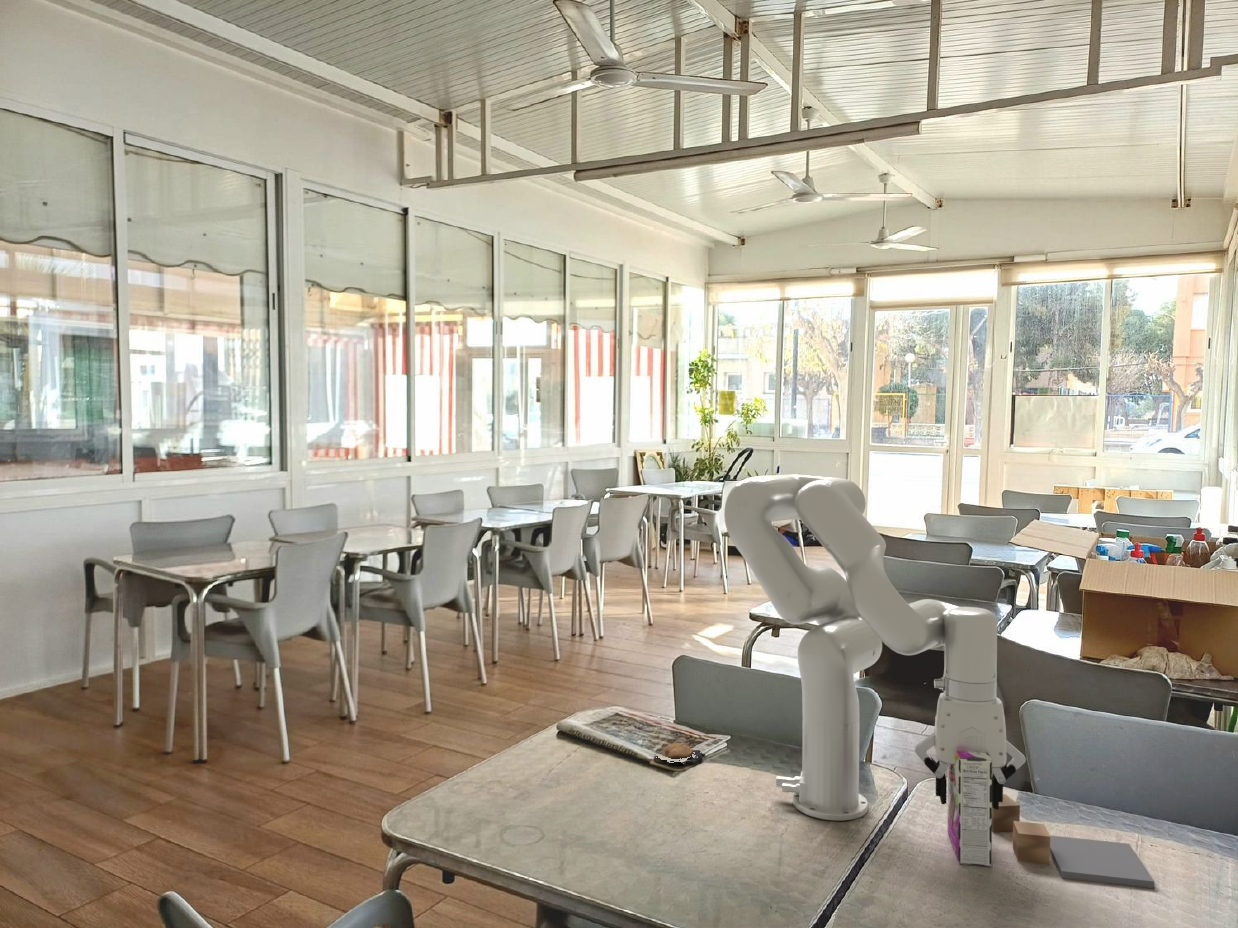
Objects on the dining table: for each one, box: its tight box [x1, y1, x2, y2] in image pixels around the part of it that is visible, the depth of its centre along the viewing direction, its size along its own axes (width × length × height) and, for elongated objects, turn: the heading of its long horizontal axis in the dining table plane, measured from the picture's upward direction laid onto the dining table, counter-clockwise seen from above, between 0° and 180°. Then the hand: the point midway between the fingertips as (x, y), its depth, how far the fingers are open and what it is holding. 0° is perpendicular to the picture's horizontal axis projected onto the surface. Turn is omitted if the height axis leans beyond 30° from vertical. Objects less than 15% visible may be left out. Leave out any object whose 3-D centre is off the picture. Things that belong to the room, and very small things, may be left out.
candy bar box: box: [947, 751, 993, 868], centre depth 138 cm, size 11×5×16 cm, turn 168°
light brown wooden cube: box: [1012, 821, 1051, 866], centre depth 136 cm, size 4×4×4 cm
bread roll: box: [649, 742, 707, 773], centre depth 176 cm, size 11×8×4 cm
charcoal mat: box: [1049, 834, 1155, 889], centre depth 133 cm, size 12×12×1 cm
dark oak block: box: [992, 793, 1021, 834], centre depth 146 cm, size 4×4×4 cm
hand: (968, 802), depth 138 cm, fingers open, 6 cm apart
